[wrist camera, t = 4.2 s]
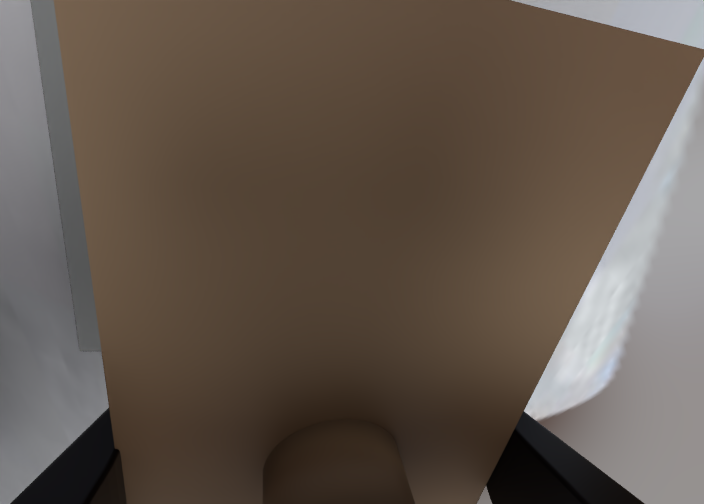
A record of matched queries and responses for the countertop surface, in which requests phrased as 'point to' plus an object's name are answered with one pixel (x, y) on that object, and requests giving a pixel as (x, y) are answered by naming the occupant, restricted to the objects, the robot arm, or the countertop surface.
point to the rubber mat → (66, 173)
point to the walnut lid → (344, 229)
